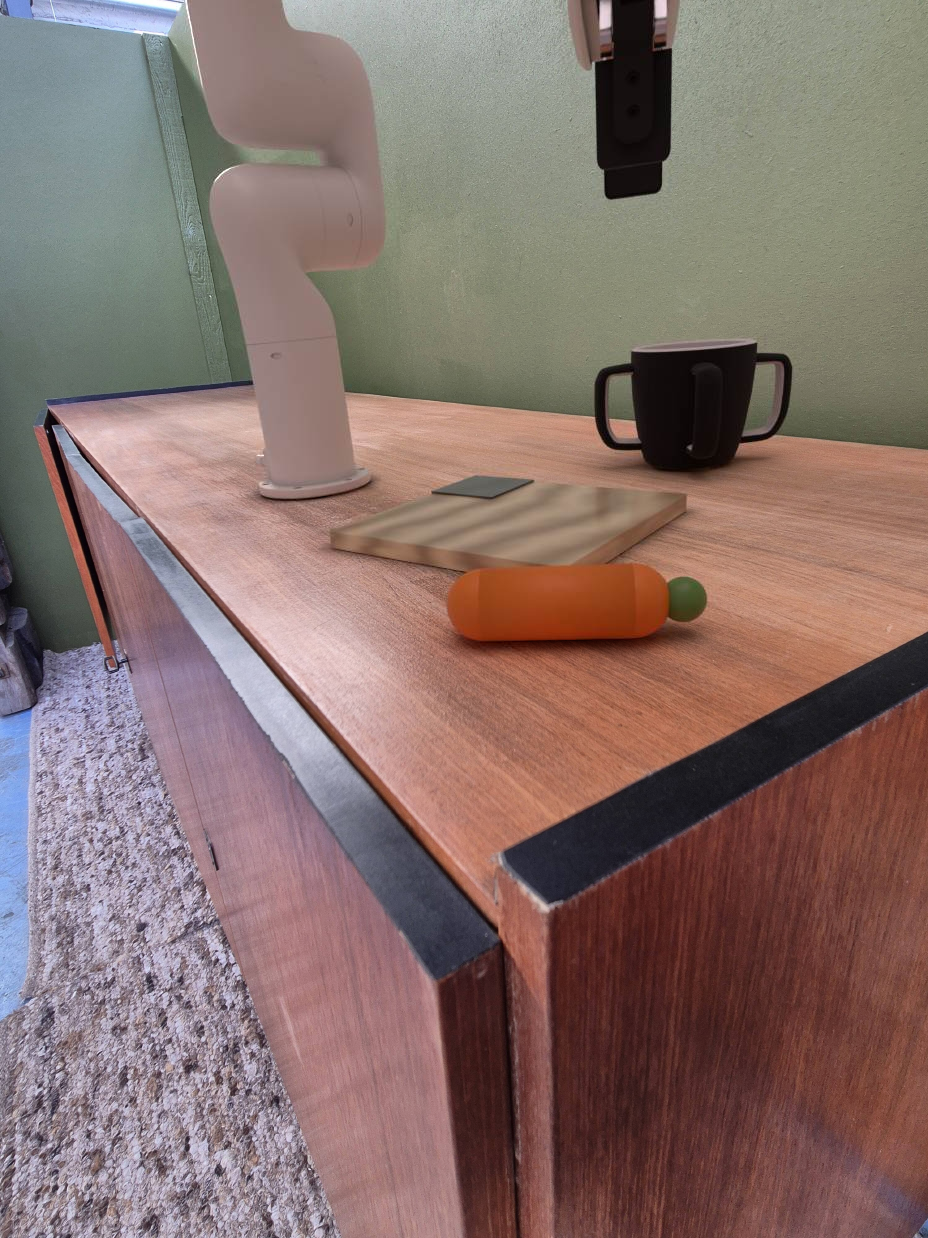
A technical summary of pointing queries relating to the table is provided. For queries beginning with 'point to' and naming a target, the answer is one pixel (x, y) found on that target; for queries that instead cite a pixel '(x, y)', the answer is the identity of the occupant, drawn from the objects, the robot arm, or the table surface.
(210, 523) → the table surface
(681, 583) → the carrot
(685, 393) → the mug
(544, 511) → the chopping board
